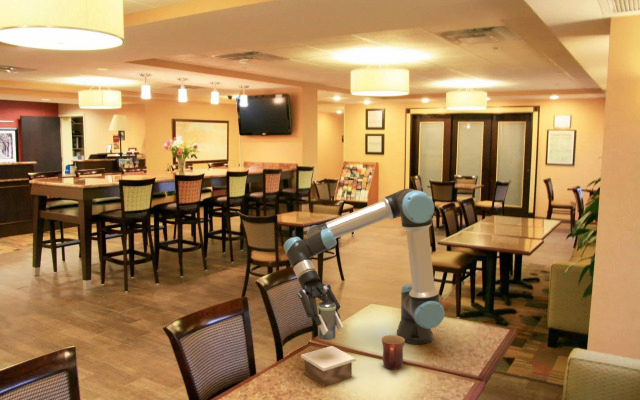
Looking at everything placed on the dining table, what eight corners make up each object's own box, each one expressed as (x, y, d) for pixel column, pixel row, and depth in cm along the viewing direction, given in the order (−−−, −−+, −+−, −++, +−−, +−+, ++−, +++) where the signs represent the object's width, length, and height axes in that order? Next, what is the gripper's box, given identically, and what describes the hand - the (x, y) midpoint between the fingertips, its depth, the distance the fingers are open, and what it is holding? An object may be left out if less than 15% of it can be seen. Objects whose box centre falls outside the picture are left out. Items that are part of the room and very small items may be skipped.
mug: (381, 360, 197) (382, 334, 196) (405, 362, 195) (405, 335, 194) (379, 373, 185) (379, 346, 184) (403, 376, 184) (404, 348, 182)
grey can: (328, 332, 187) (328, 300, 186) (339, 337, 182) (339, 304, 181) (314, 336, 183) (314, 303, 182) (325, 341, 178) (325, 308, 177)
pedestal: (331, 363, 194) (331, 345, 193) (355, 377, 183) (355, 358, 182) (300, 373, 186) (300, 354, 185) (323, 388, 175) (323, 368, 174)
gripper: (323, 276, 199) (349, 330, 187) (281, 284, 188) (306, 341, 176) (331, 266, 194) (359, 320, 182) (289, 273, 183) (315, 331, 171)
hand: (333, 330), depth 179 cm, fingers closed on grey can, 6 cm apart
